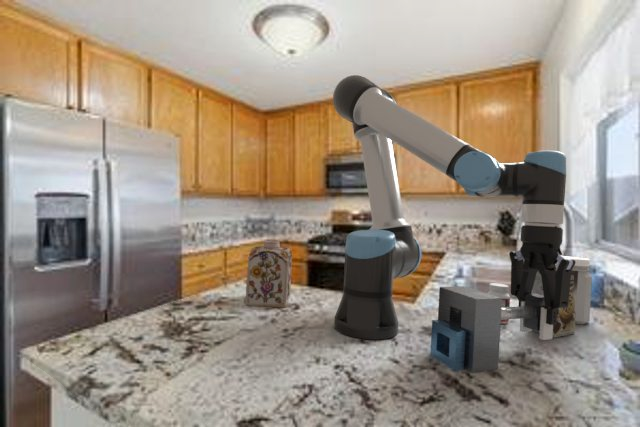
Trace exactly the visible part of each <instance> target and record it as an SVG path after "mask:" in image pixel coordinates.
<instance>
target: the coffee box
mask: <svg viewBox="0 0 640 427" xmlns="http://www.w3.org/2000/svg"><path fill="white" fill-rule="evenodd" d="M547 271H548V270H547ZM556 274H557V268H556ZM556 274H555V279H556ZM577 283H578V271H577V270H572V271H571V282H570V292H569V302H568V307H566V308H559V309H558V310H557V322H556V324H555V325H553V335H552V338H559V337H563V336H569V335H574V334H575V332H576V324H575V319H576V300H577ZM531 294H539V295H543V296H544V293H543V286H542V278H541V274H540V273H539V271H538V272H537V273H536V277H535V281H534V285H533V289H532V293H531ZM533 331H534V332H536V333H539V334H540V331H535V330H532V332H533Z"/></svg>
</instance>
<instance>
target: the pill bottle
mask: <svg viewBox="0 0 640 427" xmlns="http://www.w3.org/2000/svg"><path fill="white" fill-rule="evenodd" d="M488 289H489V291H488V292H486V293H487V294H490V295H493V296H497V297H500V298H502V307H511V296H510V294H509V293H508V291H509V285H507V284H503V283H495V282H491V283H489V286H488ZM509 322H510V319H507V320H501V325H502V324H503V325H506V324H508V323H509Z"/></svg>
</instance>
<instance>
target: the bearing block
mask: <svg viewBox="0 0 640 427" xmlns="http://www.w3.org/2000/svg"><path fill="white" fill-rule="evenodd" d="M487 293H488V292H483V291H480V290H477V289H474V288H470V287H467V286H462V285H460V286H459V285H458V286H456V285H455V286H440V287H439V292H438V294H439V295H438V310H437V312H438V313H437V320H442V321H445V322H447V323H449V324H451V325H453V326H455V327H457V328H459V329H461V330H464V331H466V334H465V353H464V369H465V370H467V371H468V372H470V373H481V372H489V371H495V370H499V359H500V341H501V340H500V339H501V325H502V324H501V308H502V298H500V297H497V296H493V295H490V294H487ZM449 344H450V338H449V337H447V336H445V350H447V351H449Z"/></svg>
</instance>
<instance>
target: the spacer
mask: <svg viewBox="0 0 640 427" xmlns="http://www.w3.org/2000/svg"><path fill="white" fill-rule="evenodd" d="M430 334H431V336H430V337H431V338H430V340H431V341H430V352H429V353H430V354H429V355H430V356H431V357H433V358H434V359H436V360H438V361H439V362H441V363H442V364H444V365H445V366H447V367H448V368H450V370H452V371H455V372H456V371H463V370H464V369H465V368H464V353H465V334H466V331H464V330H461V329H459V328H457V327H455V326H453V325H451V324H449V323H447V322H445V321H442V320H438V319H433V320H431V333H430ZM445 336H447V337H449V338H450V344H449V351H447V350H445Z"/></svg>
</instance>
